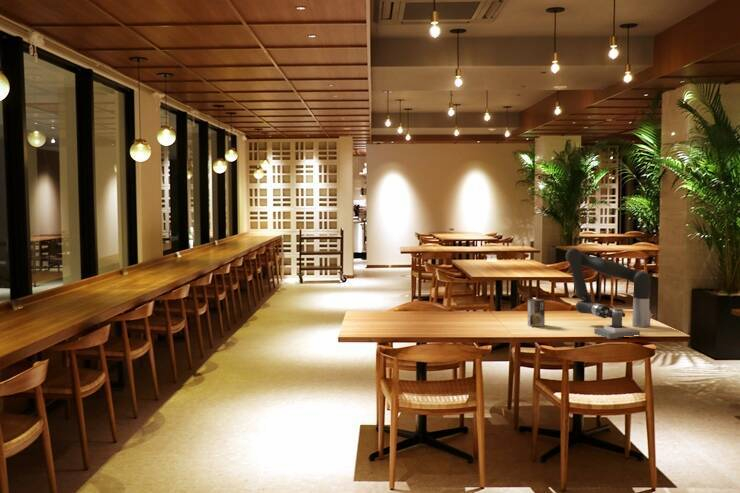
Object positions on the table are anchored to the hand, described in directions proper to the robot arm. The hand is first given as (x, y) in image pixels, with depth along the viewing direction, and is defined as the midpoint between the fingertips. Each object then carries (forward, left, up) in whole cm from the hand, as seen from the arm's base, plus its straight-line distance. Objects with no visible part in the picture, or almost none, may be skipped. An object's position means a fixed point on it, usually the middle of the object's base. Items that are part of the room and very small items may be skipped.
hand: (618, 315), depth 394 cm
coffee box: (+30, -39, -12) cm, 50 cm away
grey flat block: (0, -1, -11) cm, 12 cm away
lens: (0, -1, -8) cm, 9 cm away
